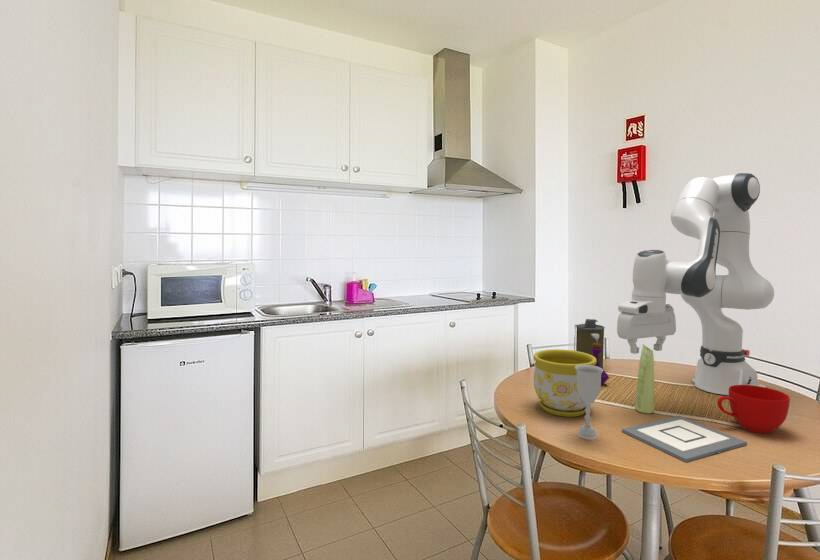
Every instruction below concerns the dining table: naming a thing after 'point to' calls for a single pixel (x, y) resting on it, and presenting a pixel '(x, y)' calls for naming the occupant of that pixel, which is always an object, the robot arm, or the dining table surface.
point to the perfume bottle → (596, 351)
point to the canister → (589, 338)
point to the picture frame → (683, 438)
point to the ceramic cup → (757, 407)
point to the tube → (645, 382)
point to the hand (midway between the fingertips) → (646, 351)
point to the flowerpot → (560, 381)
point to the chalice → (588, 395)
